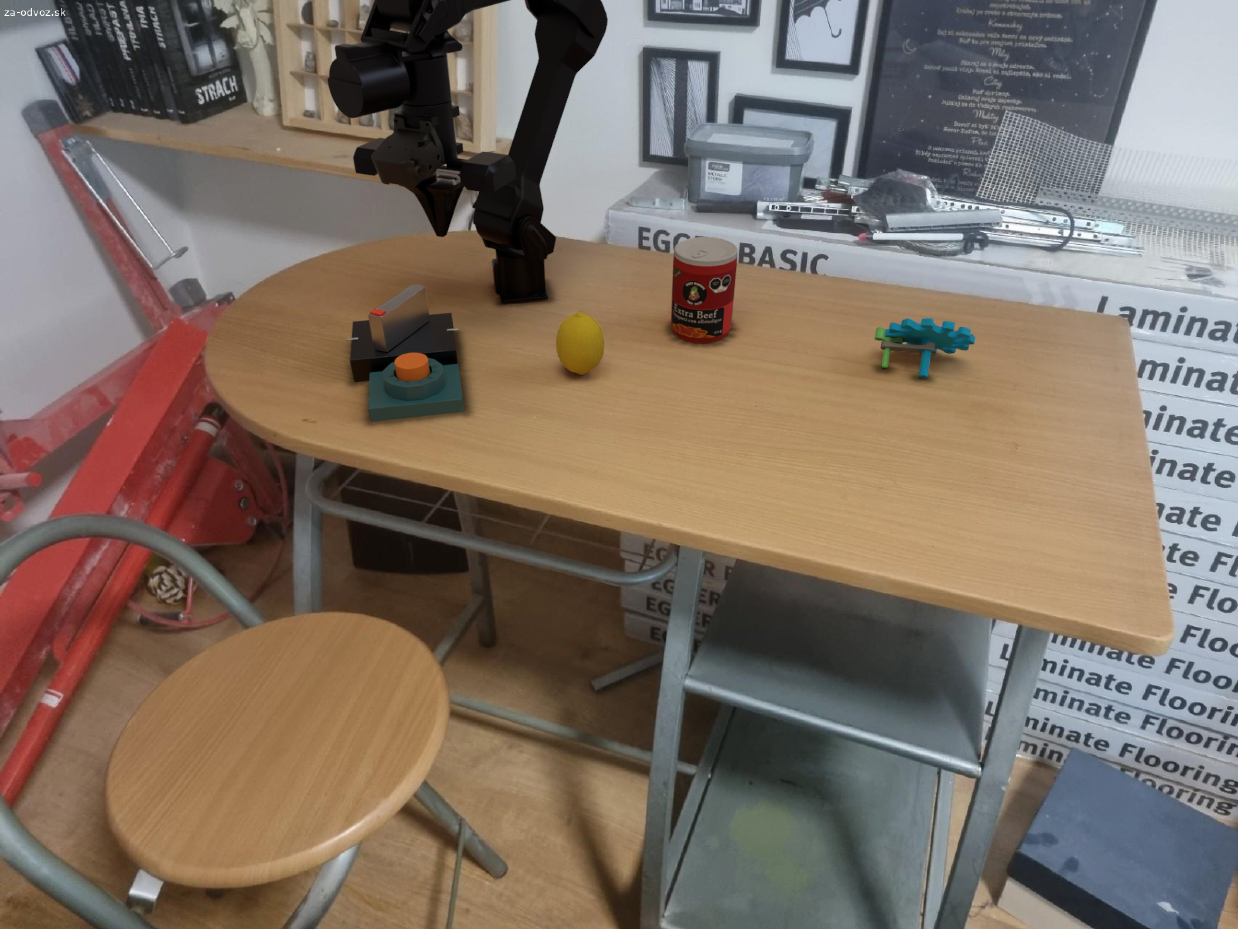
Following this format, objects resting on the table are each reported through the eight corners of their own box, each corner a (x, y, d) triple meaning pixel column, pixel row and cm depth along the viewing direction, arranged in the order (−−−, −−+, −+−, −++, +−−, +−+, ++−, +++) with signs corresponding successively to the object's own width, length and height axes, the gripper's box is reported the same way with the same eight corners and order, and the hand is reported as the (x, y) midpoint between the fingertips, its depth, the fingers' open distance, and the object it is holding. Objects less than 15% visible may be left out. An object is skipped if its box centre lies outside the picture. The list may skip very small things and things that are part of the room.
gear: (976, 345, 105) (975, 315, 96) (969, 392, 104) (968, 366, 95) (881, 339, 109) (873, 309, 100) (874, 384, 108) (864, 358, 99)
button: (429, 364, 98) (427, 351, 97) (430, 380, 95) (428, 366, 94) (396, 368, 97) (394, 354, 96) (396, 384, 94) (394, 370, 93)
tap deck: (457, 327, 112) (455, 305, 110) (465, 378, 102) (462, 354, 100) (352, 337, 110) (347, 314, 108) (348, 390, 99) (343, 365, 98)
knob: (417, 317, 108) (412, 281, 105) (430, 320, 107) (425, 284, 104) (374, 349, 101) (367, 312, 98) (387, 352, 100) (380, 315, 98)
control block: (459, 376, 102) (456, 349, 100) (464, 412, 96) (461, 384, 94) (371, 385, 100) (366, 358, 98) (370, 422, 94) (365, 394, 92)
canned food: (661, 338, 110) (664, 255, 103) (682, 312, 116) (686, 232, 109) (720, 349, 108) (727, 265, 101) (738, 322, 114) (745, 241, 107)
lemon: (598, 388, 100) (598, 325, 95) (552, 383, 101) (549, 320, 96) (609, 365, 104) (608, 304, 100) (564, 360, 105) (561, 299, 100)
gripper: (310, 108, 93) (337, 247, 103) (460, 126, 88) (474, 272, 97) (372, 86, 102) (392, 216, 111) (513, 101, 96) (522, 238, 105)
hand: (441, 235), depth 106 cm, fingers closed
